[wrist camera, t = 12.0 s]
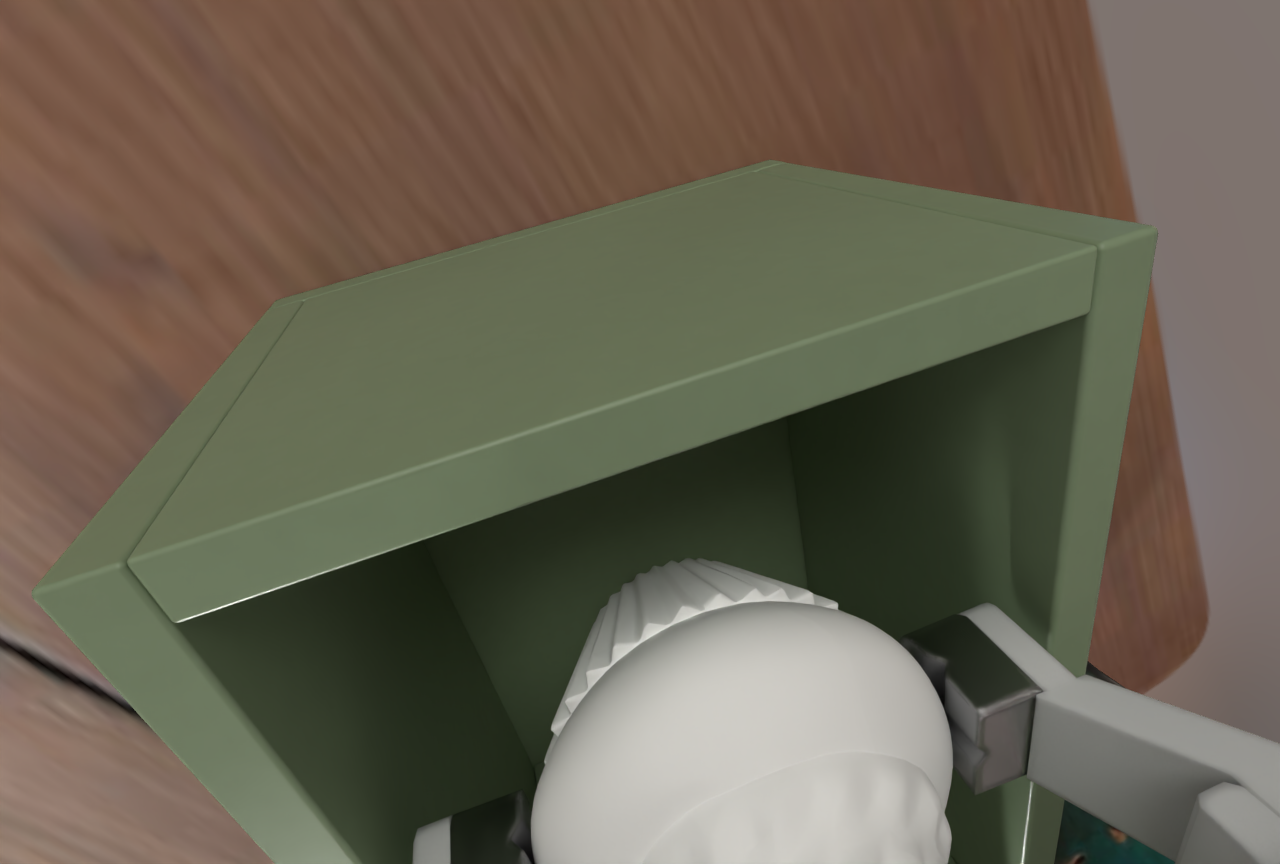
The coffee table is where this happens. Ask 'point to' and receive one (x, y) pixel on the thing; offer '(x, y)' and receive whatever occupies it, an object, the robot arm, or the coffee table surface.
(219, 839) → the coffee table surface
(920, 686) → the muffin
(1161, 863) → the ceramic cat
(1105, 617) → the coffee table surface
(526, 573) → the chest
